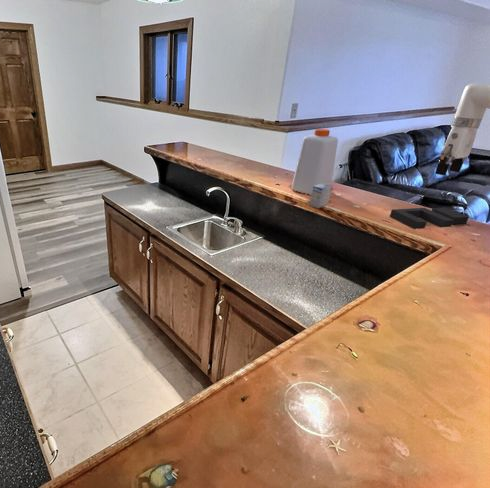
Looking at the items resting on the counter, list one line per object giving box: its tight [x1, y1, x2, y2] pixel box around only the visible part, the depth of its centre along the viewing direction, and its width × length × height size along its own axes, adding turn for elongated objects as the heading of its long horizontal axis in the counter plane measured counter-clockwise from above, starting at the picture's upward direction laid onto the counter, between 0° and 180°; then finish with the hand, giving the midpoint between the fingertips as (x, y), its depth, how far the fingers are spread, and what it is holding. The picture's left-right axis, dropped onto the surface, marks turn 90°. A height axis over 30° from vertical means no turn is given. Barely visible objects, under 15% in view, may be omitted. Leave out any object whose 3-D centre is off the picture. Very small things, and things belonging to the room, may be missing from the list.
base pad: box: [389, 207, 453, 230], centre depth 132 cm, size 15×13×3 cm
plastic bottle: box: [291, 128, 339, 196], centre depth 160 cm, size 15×15×28 cm
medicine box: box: [309, 183, 333, 209], centre depth 146 cm, size 8×4×9 cm, turn 130°
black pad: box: [431, 207, 470, 226], centre depth 134 cm, size 6×10×3 cm, turn 9°
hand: (447, 172), depth 126 cm, fingers open, 9 cm apart
